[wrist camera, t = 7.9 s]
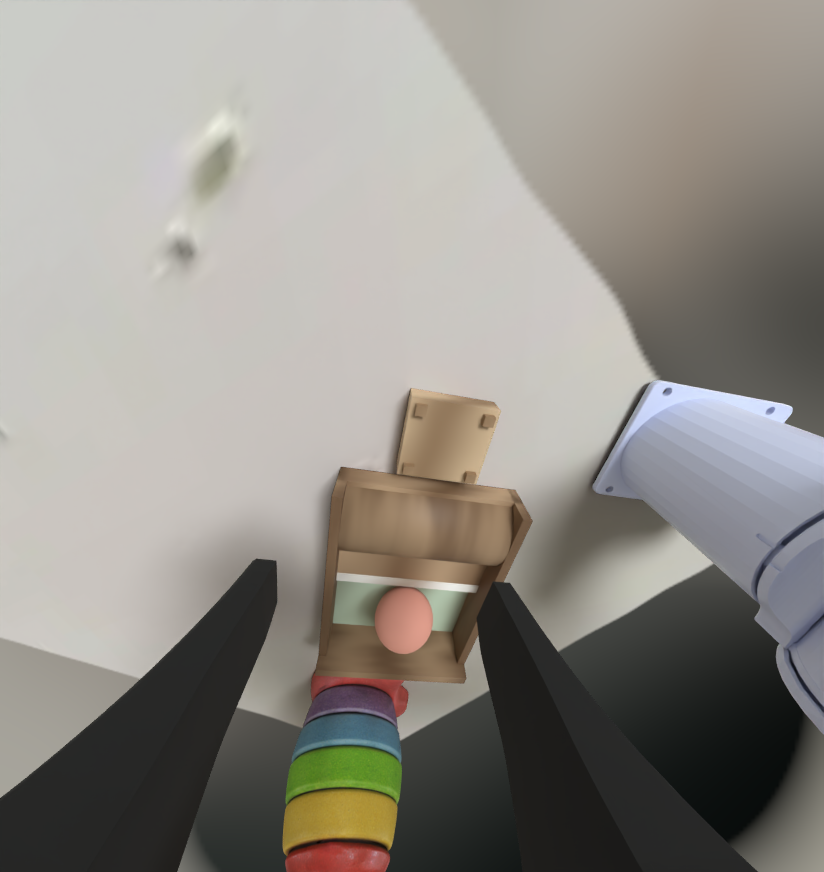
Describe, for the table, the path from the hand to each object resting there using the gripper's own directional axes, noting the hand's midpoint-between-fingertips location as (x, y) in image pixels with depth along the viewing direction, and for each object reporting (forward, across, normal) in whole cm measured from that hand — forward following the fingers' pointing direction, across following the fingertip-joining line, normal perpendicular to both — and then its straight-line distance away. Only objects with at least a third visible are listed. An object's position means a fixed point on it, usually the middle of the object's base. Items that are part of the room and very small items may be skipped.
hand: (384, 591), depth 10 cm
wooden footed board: (+10, -3, -2) cm, 10 cm away
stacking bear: (+10, -1, +28) cm, 30 cm away
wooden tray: (+13, -3, +10) cm, 17 cm away
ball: (+7, -3, +13) cm, 15 cm away
